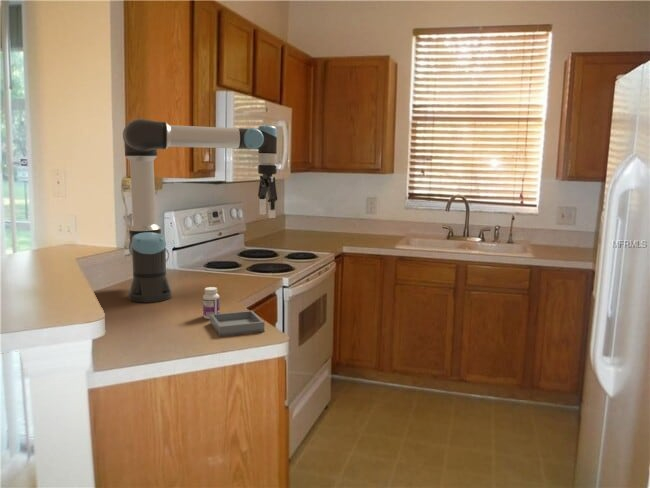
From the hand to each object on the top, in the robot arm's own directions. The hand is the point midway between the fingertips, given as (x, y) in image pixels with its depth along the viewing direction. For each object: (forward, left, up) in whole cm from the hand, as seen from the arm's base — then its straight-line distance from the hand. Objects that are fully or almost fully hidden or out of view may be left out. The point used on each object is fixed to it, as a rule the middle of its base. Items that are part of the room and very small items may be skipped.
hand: (267, 216), depth 233 cm
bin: (-28, -59, -28) cm, 70 cm away
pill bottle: (-33, -45, -28) cm, 62 cm away
